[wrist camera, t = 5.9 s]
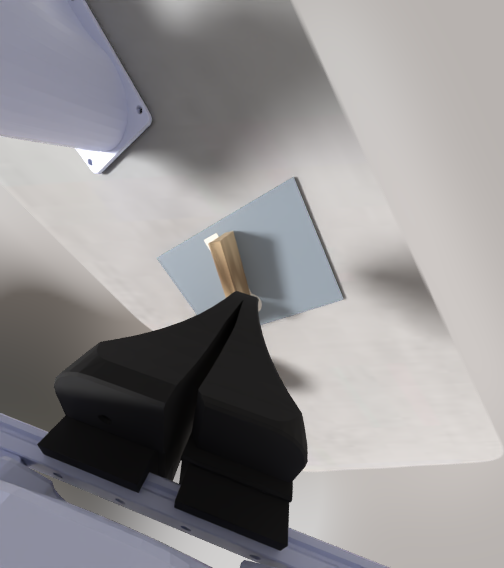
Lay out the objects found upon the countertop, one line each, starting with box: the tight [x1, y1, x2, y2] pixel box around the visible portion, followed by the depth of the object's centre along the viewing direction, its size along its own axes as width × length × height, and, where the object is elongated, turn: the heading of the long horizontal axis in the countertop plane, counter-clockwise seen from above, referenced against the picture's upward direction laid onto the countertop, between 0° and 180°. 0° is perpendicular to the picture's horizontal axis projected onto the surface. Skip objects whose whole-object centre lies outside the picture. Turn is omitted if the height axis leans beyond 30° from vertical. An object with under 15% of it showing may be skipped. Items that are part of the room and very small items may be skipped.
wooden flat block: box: [208, 231, 250, 297], centre depth 18 cm, size 7×1×4 cm, turn 13°
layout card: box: [157, 177, 344, 325], centre depth 20 cm, size 12×16×1 cm
